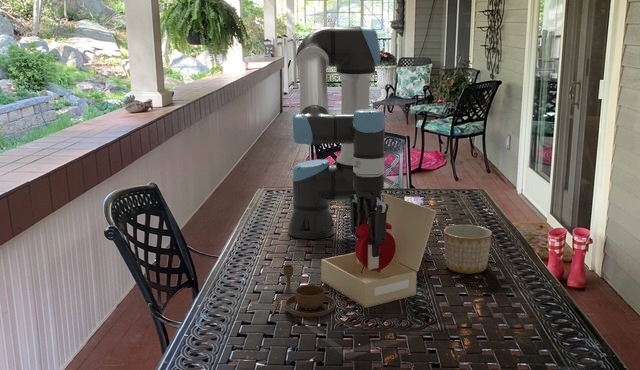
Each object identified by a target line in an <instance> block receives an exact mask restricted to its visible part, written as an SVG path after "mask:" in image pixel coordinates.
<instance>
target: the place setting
mask: <svg viewBox="0 0 640 370" xmlns="http://www.w3.org/2000/svg"><path fill="white" fill-rule="evenodd" d="M293 274H294V266H293V265H292V264H285V265H283V276H284V277H285V278H286V281H285V282H286V287H287V288H289V287H291V283H292V282H291V278H292V277H293ZM277 297H278V298H283V297H282V295H276V298H275V301H274V303H275V304H274V306H273V309H272V312H271V315H274V314H275V311H276V309H277V306H278V304H280V303H281V301H280V300H279V299H278V298H277ZM325 301H326V302H328V303H329V304H330V305H332V306H331V307H330V308H327V309H326V310H322V311H316V310H317V309H319V307H321V306H323V304H324V303H325ZM293 302H296V304H297V305H298V306H299V307H300V308H302V310H304V311H316V312H302V311H298V310H295V309H293V308H291V307H289V306H290V304H292V303H293ZM338 305H339V307H340V308H341V309H340V310H341V311H344V309H345V307H347V306H348V303H347V301H346V300H345V299H343V300H341V301H340V302H339V303H338ZM342 305H344V306H342ZM284 307H285V310H286V311H287V312H288V313H290V314H291V315H293V316H295V317H298V318H315V317H316V318H317V317H318V318H319V317H323V316H325V315H328V314H331V313H332V312H333V311H334V310H335V308H336V299H334V298H333V297H331V296H329V295H327V294H326V290H325V288H324V287H323V286H320V285H315V284H305V285H300V286H298V287H296V289H295V291H294V295H292V296H289V297H288V298H287V299H286V300H285V301H284Z"/></svg>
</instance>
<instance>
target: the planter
mask: <svg viewBox="0 0 640 370" xmlns="http://www.w3.org/2000/svg"><path fill="white" fill-rule="evenodd" d="M492 235H493V233H492V231H491V230H490V229H488V228H486V227H484V226H480V225H479V226H478V225H474V224H472V225H471V224H453V225H448V226H446V227H445V228H444V229H443V237H444V238H443V239H444V256H445V265H446V267H447V269H448V270H451V271H453V272H455V273H458V274H459V273H460V274H466V275H467V274H468V275H469V274H471V275H473V274H479V273H482V272H484V271H485V270H486V269H487V267H488V263H489V261H488V260H489V254H490V248H491V243H492V241H491V240H492Z"/></svg>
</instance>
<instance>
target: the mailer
mask: <svg viewBox="0 0 640 370" xmlns="http://www.w3.org/2000/svg"><path fill="white" fill-rule="evenodd" d="M362 269H363V264H357V257H356V254H355V252H351V253H347V254H342V255H338V256H337V255H335V256H332V257H326V258H322V259H321V269H320V270H321V272H320V273H321V277H320V278H321V282H322V283H323V284H324V285H327V286H328V287H330V288H331V289H333V290H335V291H336V292H338V293H340V294H341V295H344V296H345V297H347V298H349V299H350V300H352V301H353V302H355V303H356V304H358V305H360V306H362V307H363V308H364V309H367V308H370V307H375V306H379V305H383V304H386V303H390V302H395V301H398V300H401V299H405V298H411V297H414V296H417V272H418V271H416V270H413V269H411V268H409V267H407V266H405V265H403V264H401V263H398V262H396V261H394V260H392V261H391V262H390V264H389V265H388V266H387V267H385V268H384V269H382V270H380V271H381V272H379V273H378V272H377V271H371V270H369V269H367V268H365V267H364V269H363V271H362ZM361 271H362V273H361Z"/></svg>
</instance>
